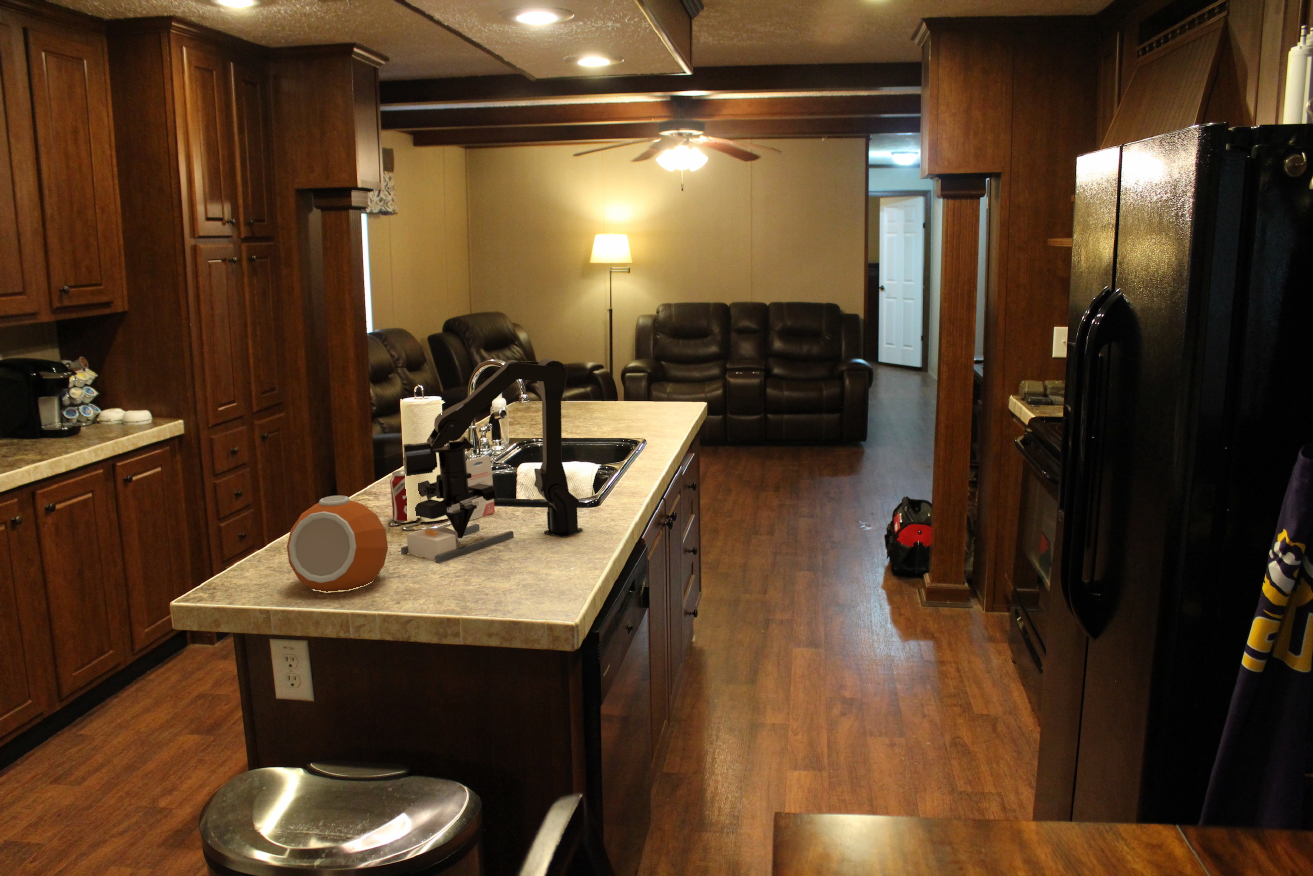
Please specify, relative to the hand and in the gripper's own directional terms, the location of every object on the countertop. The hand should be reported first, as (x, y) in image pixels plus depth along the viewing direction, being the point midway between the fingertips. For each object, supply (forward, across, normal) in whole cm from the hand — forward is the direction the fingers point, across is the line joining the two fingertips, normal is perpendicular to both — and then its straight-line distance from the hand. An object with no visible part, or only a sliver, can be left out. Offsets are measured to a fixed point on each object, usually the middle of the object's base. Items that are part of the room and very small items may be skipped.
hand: (460, 538), depth 227 cm
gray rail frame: (+2, +1, 0) cm, 2 cm away
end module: (+1, +8, 0) cm, 8 cm away
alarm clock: (+1, +31, -1) cm, 31 cm away
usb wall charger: (+2, +4, 0) cm, 4 cm away
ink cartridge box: (+3, -19, -16) cm, 25 cm away
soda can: (+2, -7, -27) cm, 28 cm away
